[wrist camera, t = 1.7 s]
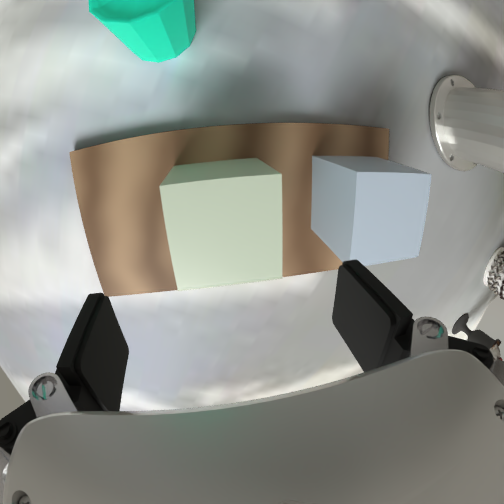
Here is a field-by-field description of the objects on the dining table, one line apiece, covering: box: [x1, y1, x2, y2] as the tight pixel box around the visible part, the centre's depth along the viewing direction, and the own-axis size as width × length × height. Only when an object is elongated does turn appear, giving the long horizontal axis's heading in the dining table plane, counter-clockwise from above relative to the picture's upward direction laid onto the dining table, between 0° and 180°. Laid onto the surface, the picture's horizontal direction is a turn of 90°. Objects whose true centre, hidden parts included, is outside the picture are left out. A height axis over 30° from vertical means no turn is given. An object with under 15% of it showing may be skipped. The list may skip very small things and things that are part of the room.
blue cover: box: [311, 156, 431, 266], centre depth 22 cm, size 7×7×8 cm
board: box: [70, 123, 389, 297], centre depth 25 cm, size 30×15×2 cm, turn 92°
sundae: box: [452, 314, 502, 360], centre depth 36 cm, size 7×7×15 cm
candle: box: [89, 0, 196, 63], centre depth 12 cm, size 6×6×12 cm
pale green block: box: [159, 158, 282, 291], centre depth 20 cm, size 7×7×8 cm
